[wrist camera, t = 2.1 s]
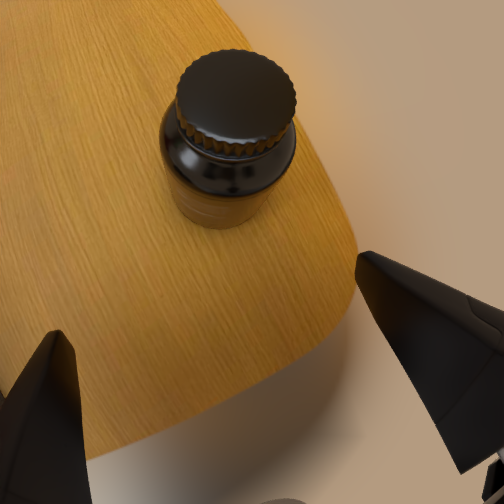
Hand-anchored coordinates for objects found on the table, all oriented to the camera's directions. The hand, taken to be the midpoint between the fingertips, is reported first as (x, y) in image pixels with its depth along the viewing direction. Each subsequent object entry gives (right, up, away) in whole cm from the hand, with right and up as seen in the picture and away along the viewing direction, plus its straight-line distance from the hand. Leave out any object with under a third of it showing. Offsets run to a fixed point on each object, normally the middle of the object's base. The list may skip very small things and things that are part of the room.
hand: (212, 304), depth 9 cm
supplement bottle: (-1, +6, +15) cm, 16 cm away
